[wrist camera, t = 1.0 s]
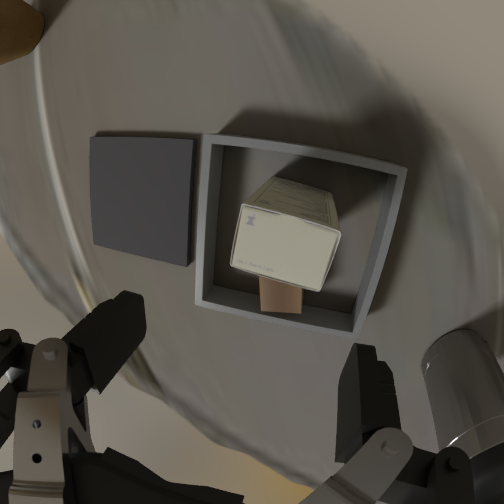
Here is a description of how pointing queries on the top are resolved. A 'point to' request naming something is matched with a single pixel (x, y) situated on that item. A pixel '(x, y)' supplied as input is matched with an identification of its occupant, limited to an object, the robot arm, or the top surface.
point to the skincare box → (287, 234)
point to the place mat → (143, 195)
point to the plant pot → (18, 29)
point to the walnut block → (280, 296)
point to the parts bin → (250, 303)
